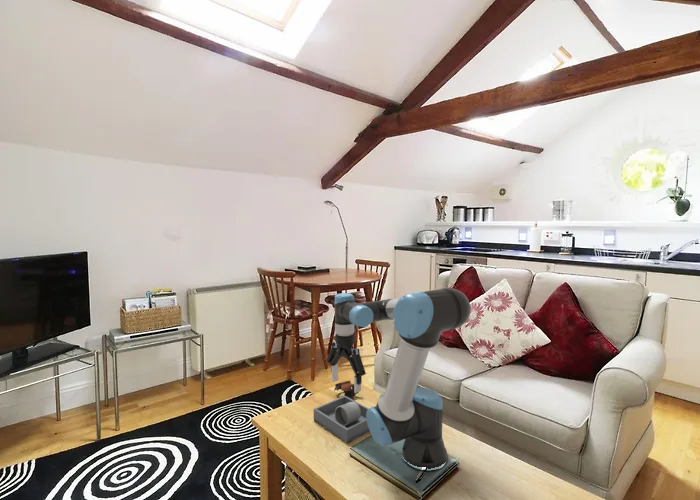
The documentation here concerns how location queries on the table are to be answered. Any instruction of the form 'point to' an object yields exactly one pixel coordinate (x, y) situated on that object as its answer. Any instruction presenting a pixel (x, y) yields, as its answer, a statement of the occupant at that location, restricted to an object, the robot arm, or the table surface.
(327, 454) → the table surface
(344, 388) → the brown clay vessel
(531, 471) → the table surface
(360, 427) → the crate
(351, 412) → the ceramic mug
